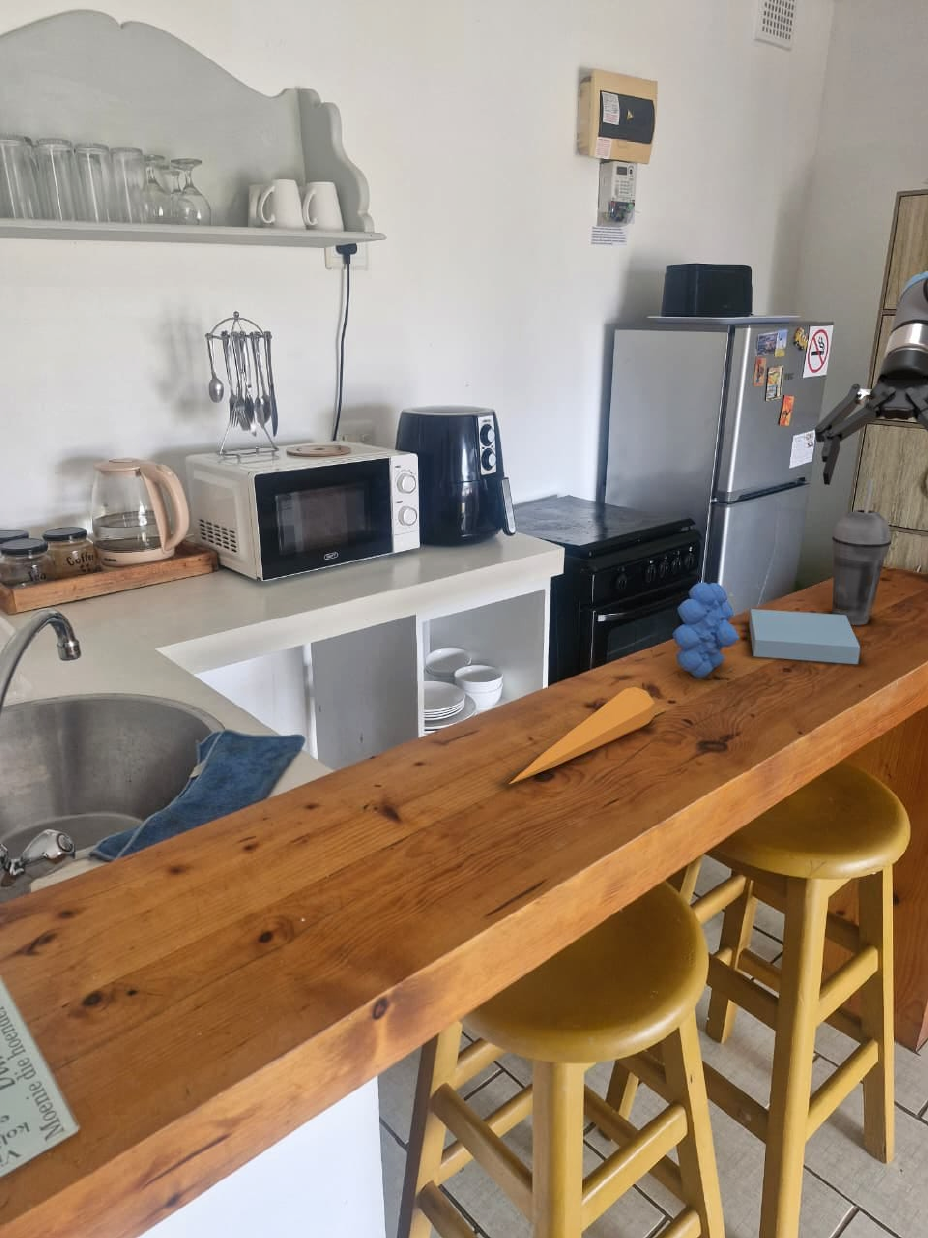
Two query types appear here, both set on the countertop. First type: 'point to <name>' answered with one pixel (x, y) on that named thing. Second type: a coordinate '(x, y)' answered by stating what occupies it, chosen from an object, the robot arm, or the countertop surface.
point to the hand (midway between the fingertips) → (877, 483)
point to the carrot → (598, 729)
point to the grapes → (704, 629)
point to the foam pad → (803, 636)
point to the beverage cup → (858, 561)
